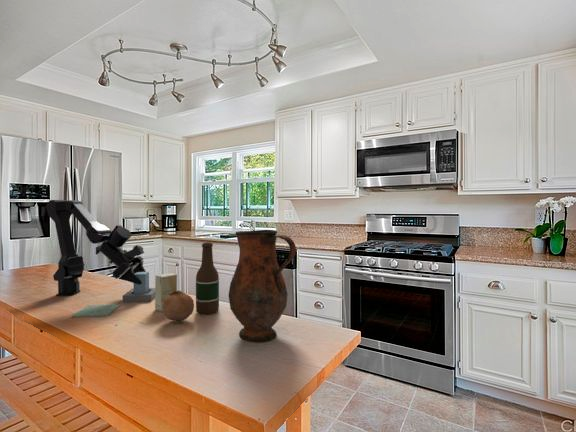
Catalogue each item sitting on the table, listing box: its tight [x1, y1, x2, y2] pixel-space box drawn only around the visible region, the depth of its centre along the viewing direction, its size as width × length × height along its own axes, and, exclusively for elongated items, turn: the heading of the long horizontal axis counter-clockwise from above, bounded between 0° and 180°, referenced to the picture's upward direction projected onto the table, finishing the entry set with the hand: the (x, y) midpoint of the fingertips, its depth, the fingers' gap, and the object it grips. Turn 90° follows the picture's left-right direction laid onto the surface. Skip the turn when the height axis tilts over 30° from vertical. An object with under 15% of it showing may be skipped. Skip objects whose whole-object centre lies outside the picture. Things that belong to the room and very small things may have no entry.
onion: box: [162, 290, 195, 323], centre depth 101 cm, size 10×9×10 cm
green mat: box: [71, 303, 121, 318], centre depth 111 cm, size 11×11×1 cm
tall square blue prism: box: [133, 271, 150, 294], centre depth 127 cm, size 4×4×10 cm
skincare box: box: [154, 272, 178, 312], centre depth 114 cm, size 6×4×12 cm
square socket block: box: [122, 287, 155, 303], centre depth 127 cm, size 10×10×2 cm
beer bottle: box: [195, 242, 220, 316], centre depth 111 cm, size 8×8×24 cm
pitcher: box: [228, 229, 297, 343], centre depth 89 cm, size 17×21×30 cm
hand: (144, 281), depth 127 cm, fingers open, 9 cm apart
